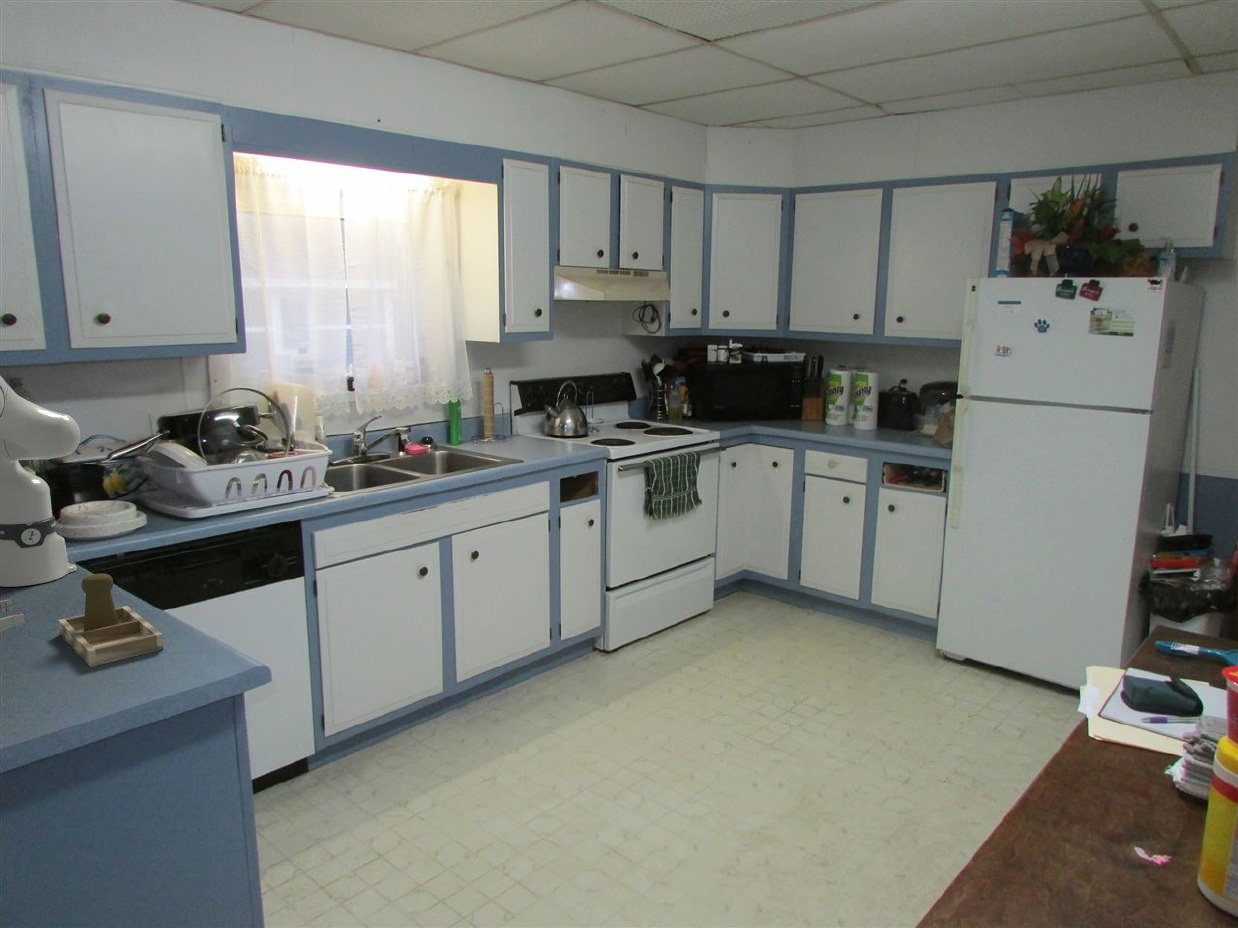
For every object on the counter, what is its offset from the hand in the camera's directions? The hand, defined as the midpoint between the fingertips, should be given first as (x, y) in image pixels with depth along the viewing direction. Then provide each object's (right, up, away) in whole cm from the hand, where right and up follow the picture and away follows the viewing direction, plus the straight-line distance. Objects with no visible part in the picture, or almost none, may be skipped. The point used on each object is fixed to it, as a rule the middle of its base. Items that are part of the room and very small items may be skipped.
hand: (17, 611), depth 154 cm
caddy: (+13, -7, +7) cm, 16 cm away
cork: (+8, -6, +11) cm, 15 cm away
